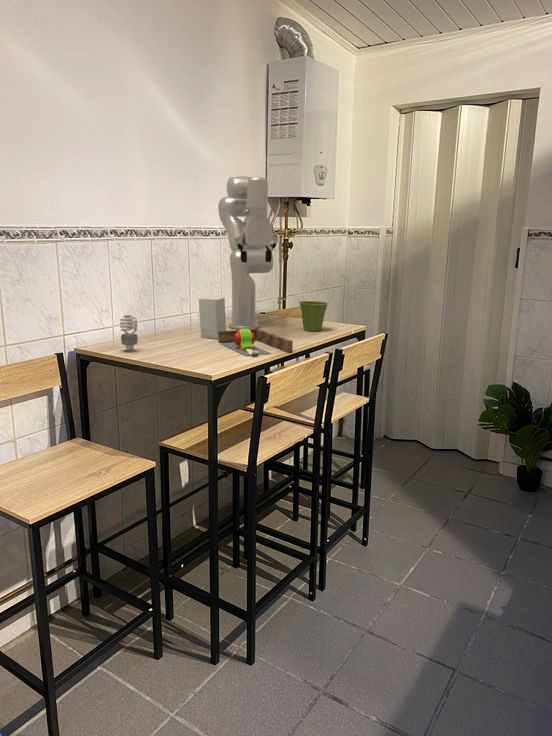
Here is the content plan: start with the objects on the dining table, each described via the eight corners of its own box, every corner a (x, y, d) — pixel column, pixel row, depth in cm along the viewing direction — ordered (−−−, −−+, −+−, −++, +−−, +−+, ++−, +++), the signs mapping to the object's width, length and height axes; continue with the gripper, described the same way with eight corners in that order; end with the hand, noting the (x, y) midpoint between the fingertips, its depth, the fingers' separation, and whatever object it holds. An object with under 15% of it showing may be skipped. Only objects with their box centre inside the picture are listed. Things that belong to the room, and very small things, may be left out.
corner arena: (218, 342, 206) (218, 331, 205) (258, 339, 213) (258, 328, 212) (249, 356, 184) (249, 344, 183) (292, 352, 191) (292, 340, 190)
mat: (220, 344, 203) (220, 343, 203) (243, 342, 207) (243, 341, 207) (245, 356, 185) (245, 355, 185) (270, 353, 189) (270, 353, 189)
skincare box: (226, 337, 216) (226, 297, 212) (216, 339, 211) (216, 299, 207) (209, 334, 220) (208, 295, 217) (198, 337, 215) (198, 297, 212)
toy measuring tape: (248, 344, 203) (248, 325, 201) (265, 355, 185) (265, 335, 183) (230, 345, 201) (230, 326, 199) (245, 356, 183) (245, 336, 181)
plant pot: (326, 333, 228) (328, 304, 225) (297, 332, 229) (297, 303, 227) (327, 328, 239) (328, 301, 237) (299, 327, 241) (300, 300, 238)
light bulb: (117, 350, 189) (115, 314, 187) (132, 348, 194) (130, 312, 191) (127, 353, 186) (125, 316, 183) (142, 350, 190) (140, 314, 187)
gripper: (238, 213, 199) (238, 263, 203) (283, 214, 207) (282, 262, 211) (230, 213, 205) (230, 261, 210) (273, 214, 213) (272, 261, 218)
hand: (256, 262), depth 210 cm, fingers open, 9 cm apart
